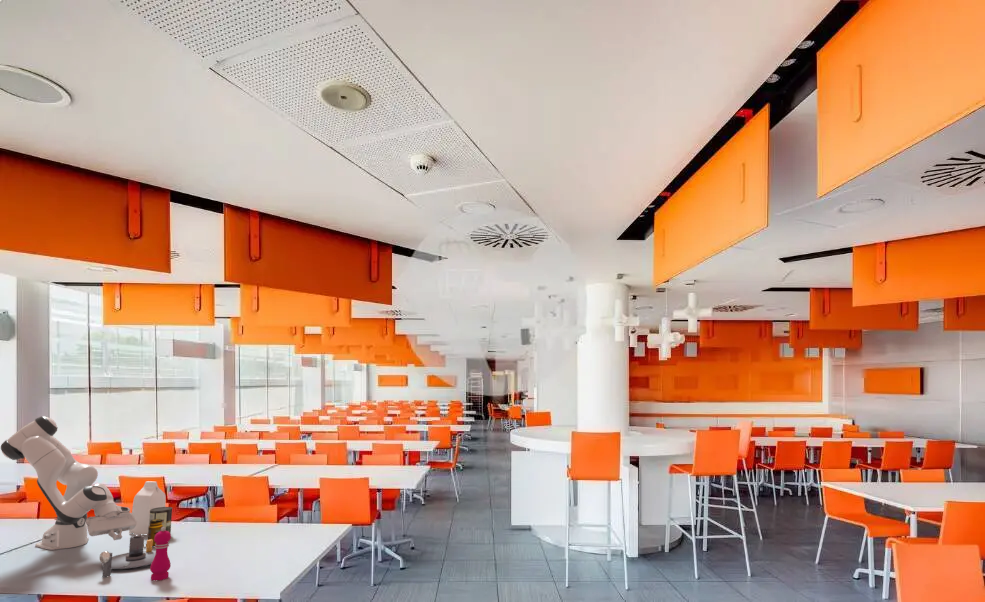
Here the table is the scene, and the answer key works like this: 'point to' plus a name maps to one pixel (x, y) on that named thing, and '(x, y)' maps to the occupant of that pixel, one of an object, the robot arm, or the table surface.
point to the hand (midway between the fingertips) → (118, 538)
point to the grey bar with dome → (106, 563)
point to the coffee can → (162, 516)
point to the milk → (146, 505)
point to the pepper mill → (161, 556)
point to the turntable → (121, 562)
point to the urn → (136, 548)
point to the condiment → (154, 529)
